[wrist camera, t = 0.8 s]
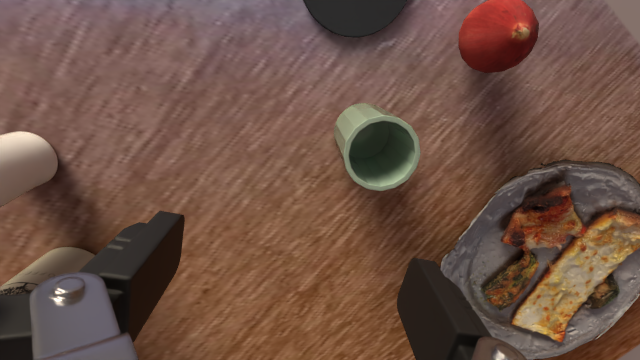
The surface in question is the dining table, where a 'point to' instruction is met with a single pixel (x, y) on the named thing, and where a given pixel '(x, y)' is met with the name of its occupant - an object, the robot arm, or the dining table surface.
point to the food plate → (552, 256)
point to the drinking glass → (24, 164)
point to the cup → (376, 146)
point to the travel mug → (47, 269)
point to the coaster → (354, 15)
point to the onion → (498, 35)
